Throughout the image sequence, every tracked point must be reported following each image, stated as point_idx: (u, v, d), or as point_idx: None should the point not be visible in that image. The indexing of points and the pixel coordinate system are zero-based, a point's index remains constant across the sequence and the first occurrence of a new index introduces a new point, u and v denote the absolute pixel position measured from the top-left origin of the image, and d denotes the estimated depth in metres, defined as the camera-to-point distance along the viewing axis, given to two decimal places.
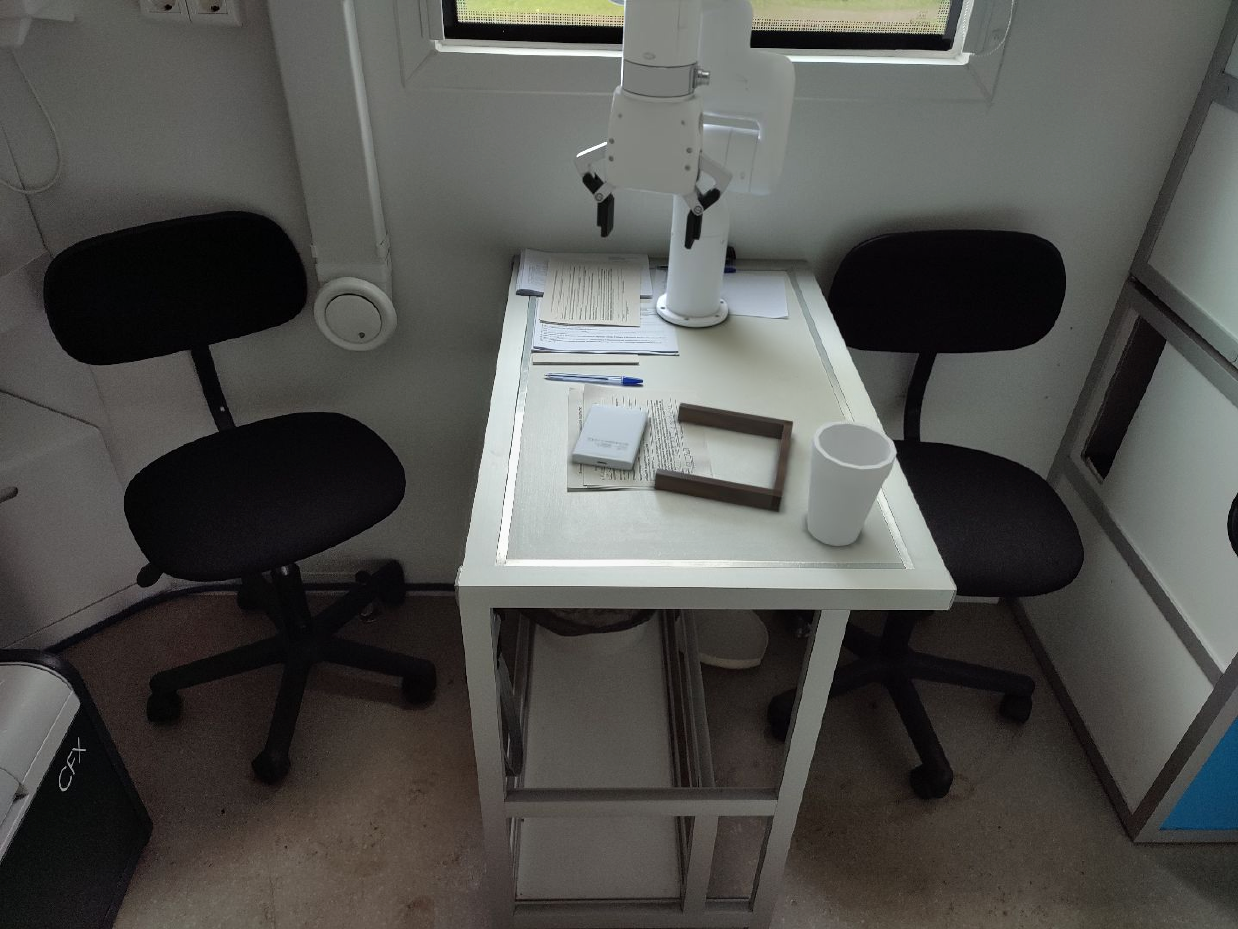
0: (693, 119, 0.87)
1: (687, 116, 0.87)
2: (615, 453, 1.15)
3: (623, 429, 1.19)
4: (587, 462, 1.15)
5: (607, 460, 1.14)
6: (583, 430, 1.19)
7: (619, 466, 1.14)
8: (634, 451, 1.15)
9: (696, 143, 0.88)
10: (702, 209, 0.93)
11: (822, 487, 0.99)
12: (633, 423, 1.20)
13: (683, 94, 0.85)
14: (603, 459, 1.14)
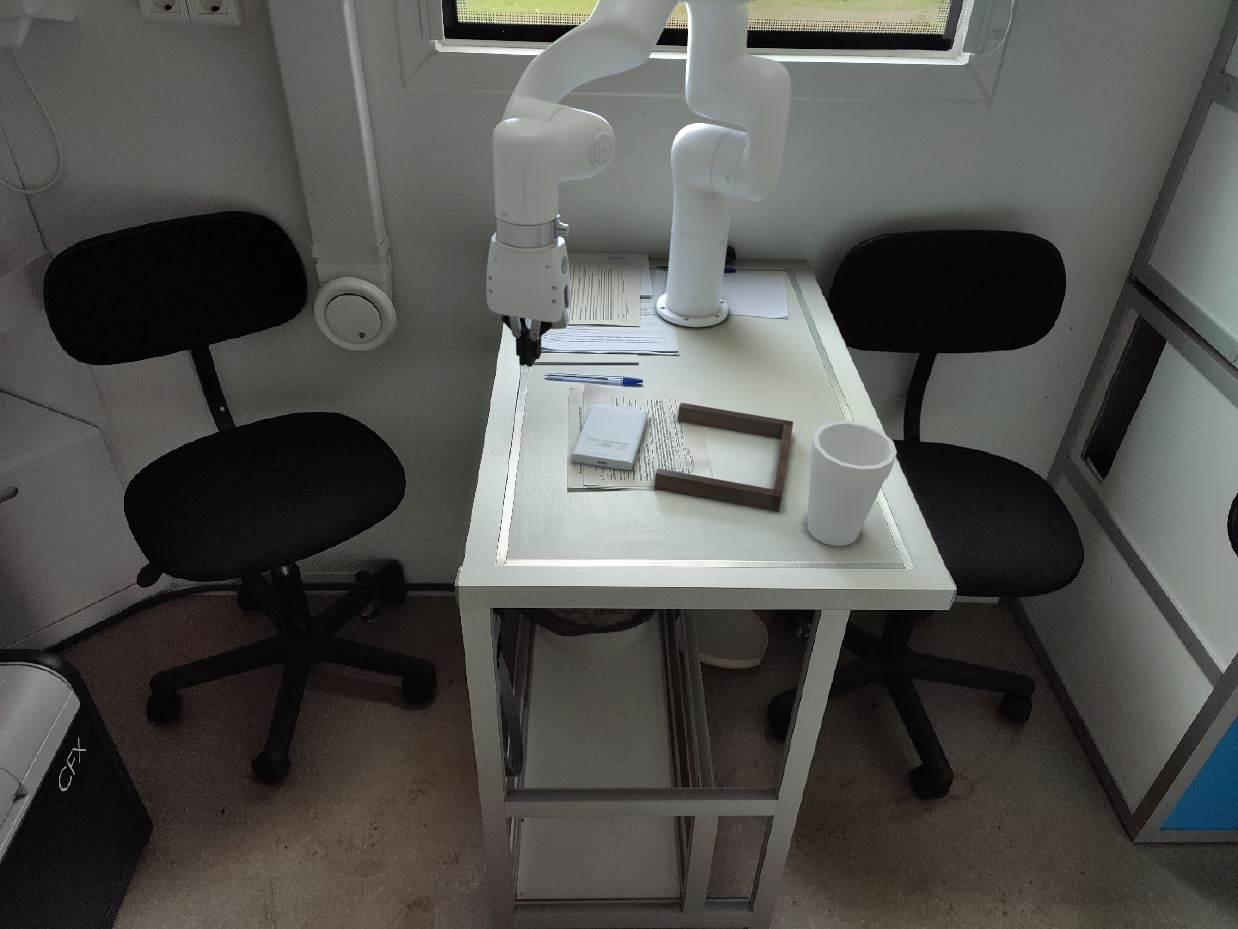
0: (555, 264, 1.03)
1: (550, 261, 1.03)
2: (615, 453, 1.15)
3: (623, 428, 1.19)
4: (587, 462, 1.15)
5: (607, 460, 1.14)
6: (583, 430, 1.19)
7: (619, 466, 1.14)
8: (634, 451, 1.15)
9: (560, 282, 1.05)
10: (537, 336, 1.10)
11: (822, 487, 0.99)
12: (633, 423, 1.20)
13: (545, 244, 1.02)
14: (603, 459, 1.14)
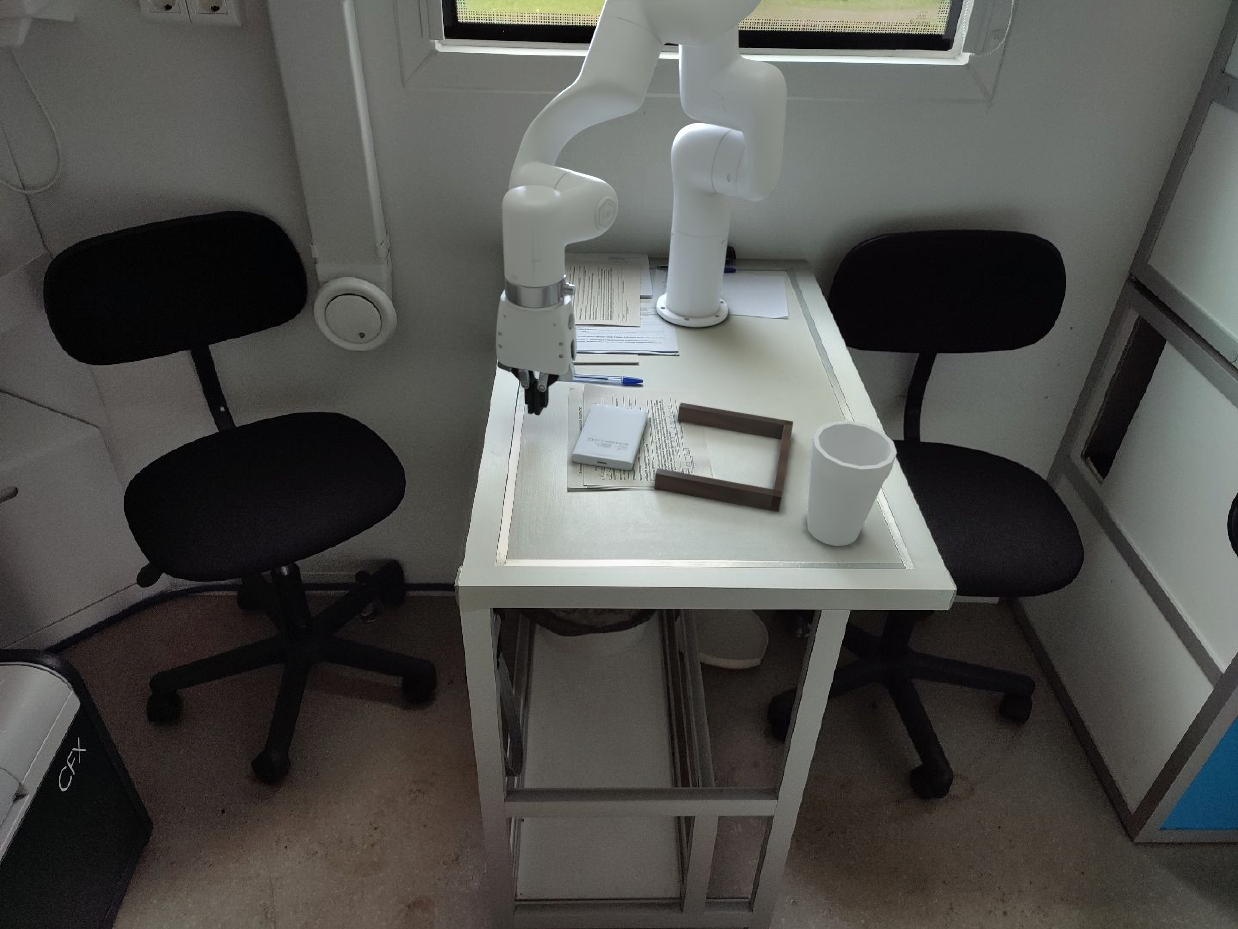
0: (562, 321, 1.08)
1: (557, 319, 1.08)
2: (615, 453, 1.15)
3: (623, 428, 1.19)
4: (587, 462, 1.15)
5: (607, 460, 1.14)
6: (583, 430, 1.19)
7: (619, 466, 1.14)
8: (634, 451, 1.15)
9: (566, 338, 1.09)
10: (545, 387, 1.15)
11: (822, 487, 0.99)
12: (633, 423, 1.20)
13: (552, 304, 1.06)
14: (603, 459, 1.14)
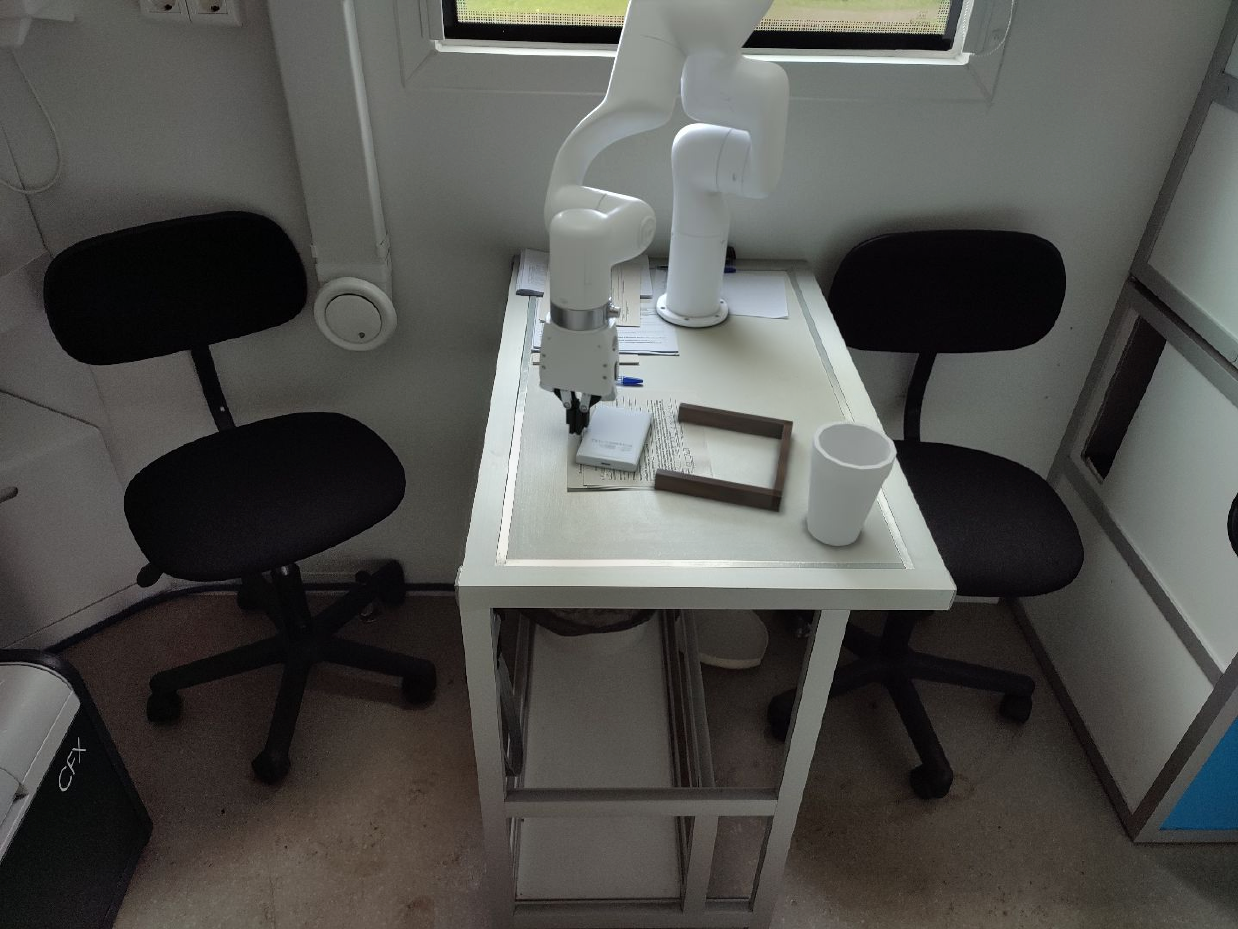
0: (607, 344, 1.08)
1: (602, 342, 1.08)
2: (619, 454, 1.14)
3: (627, 430, 1.19)
4: (591, 463, 1.14)
5: (610, 461, 1.14)
6: (587, 431, 1.18)
7: (623, 467, 1.14)
8: (638, 452, 1.15)
9: (611, 360, 1.10)
10: (587, 408, 1.15)
11: (822, 487, 0.99)
12: (637, 425, 1.20)
13: (598, 327, 1.07)
14: (607, 460, 1.14)
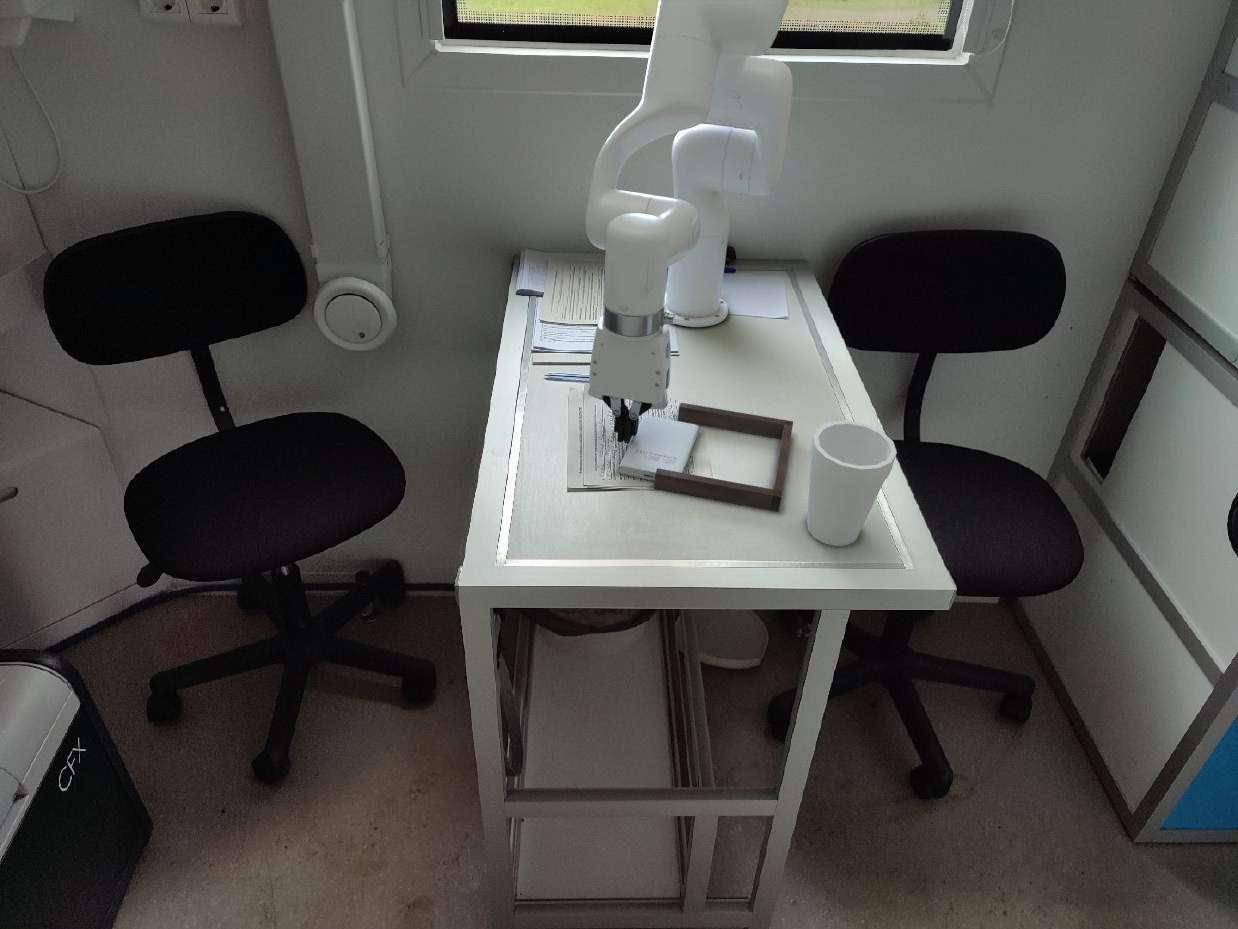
0: (661, 350, 1.06)
1: (656, 348, 1.06)
2: (663, 467, 1.13)
3: (673, 442, 1.17)
4: (634, 475, 1.13)
5: (654, 474, 1.12)
6: (632, 442, 1.17)
7: None
8: (682, 466, 1.13)
9: (664, 367, 1.08)
10: (637, 415, 1.14)
11: (822, 487, 0.99)
12: (683, 437, 1.18)
13: (652, 333, 1.05)
14: (650, 472, 1.12)
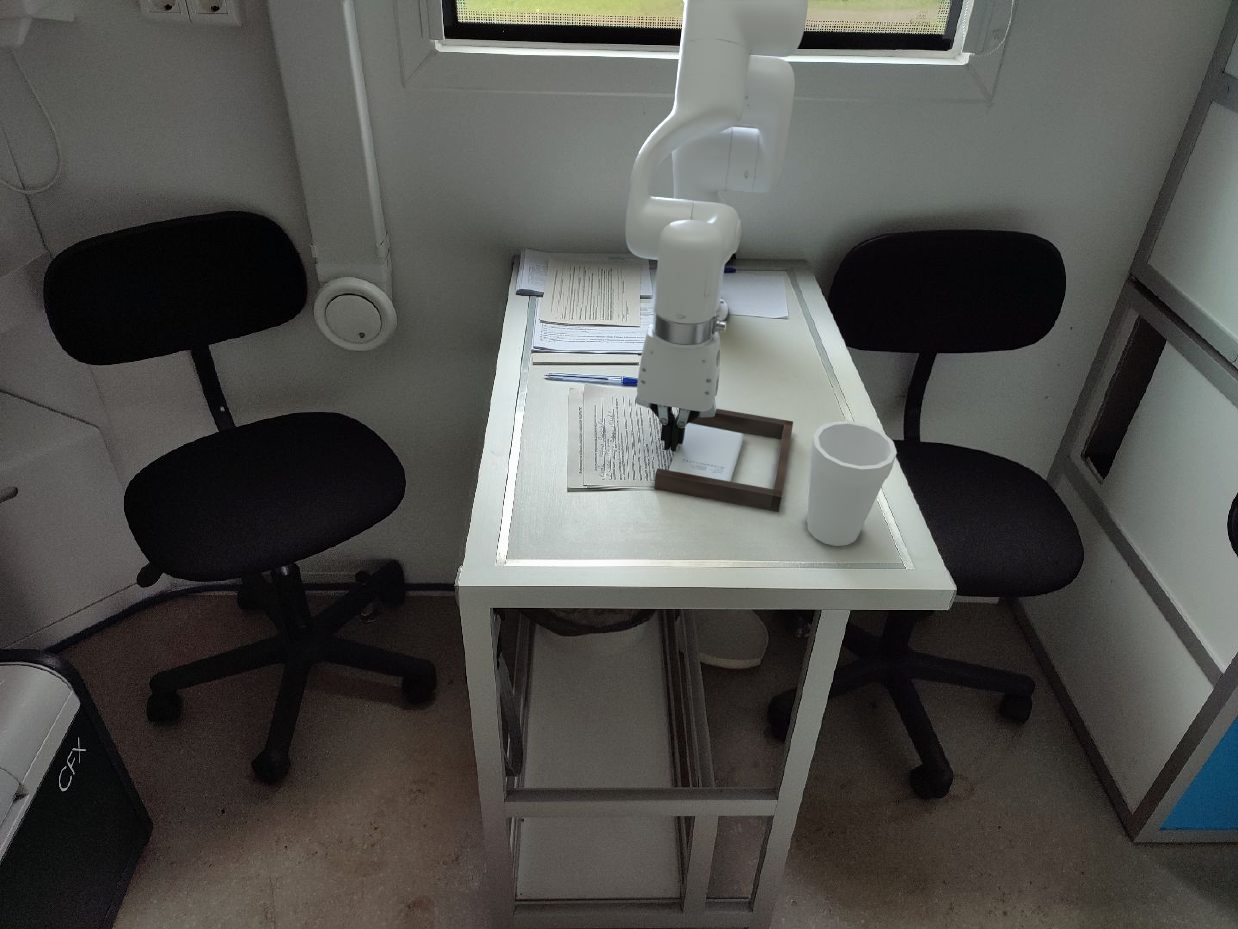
0: (712, 358, 1.05)
1: (707, 356, 1.05)
2: (710, 476, 1.11)
3: (719, 451, 1.16)
4: None
5: None
6: (677, 450, 1.16)
7: None
8: (730, 475, 1.12)
9: (714, 375, 1.07)
10: (684, 424, 1.12)
11: (822, 487, 0.99)
12: (728, 446, 1.17)
13: (704, 341, 1.04)
14: None
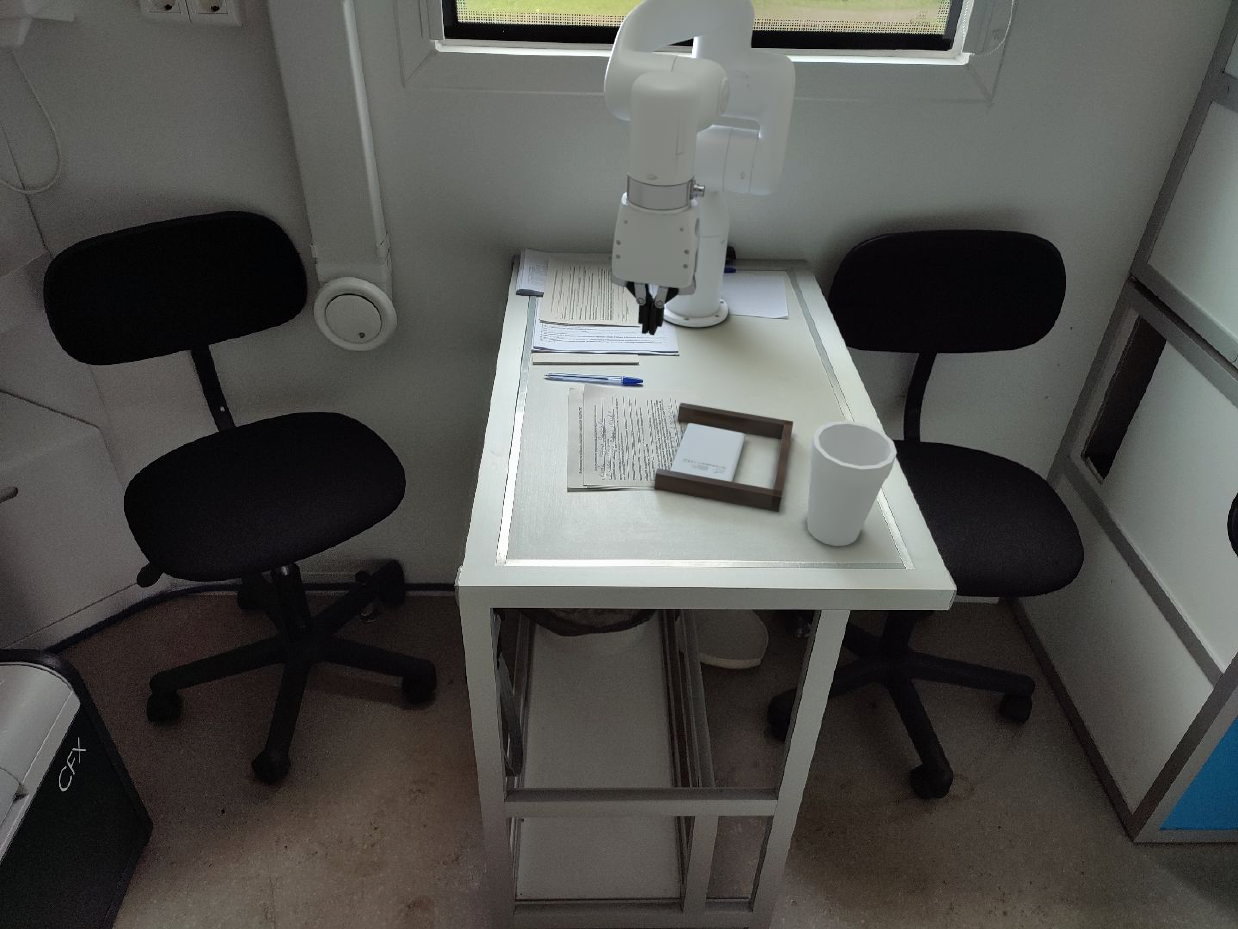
0: (690, 226, 0.99)
1: (685, 224, 0.98)
2: (712, 476, 1.11)
3: (720, 451, 1.16)
4: None
5: None
6: (679, 451, 1.16)
7: None
8: (732, 475, 1.12)
9: (693, 245, 1.00)
10: (663, 303, 1.06)
11: (822, 487, 0.99)
12: (730, 446, 1.17)
13: (681, 206, 0.97)
14: None
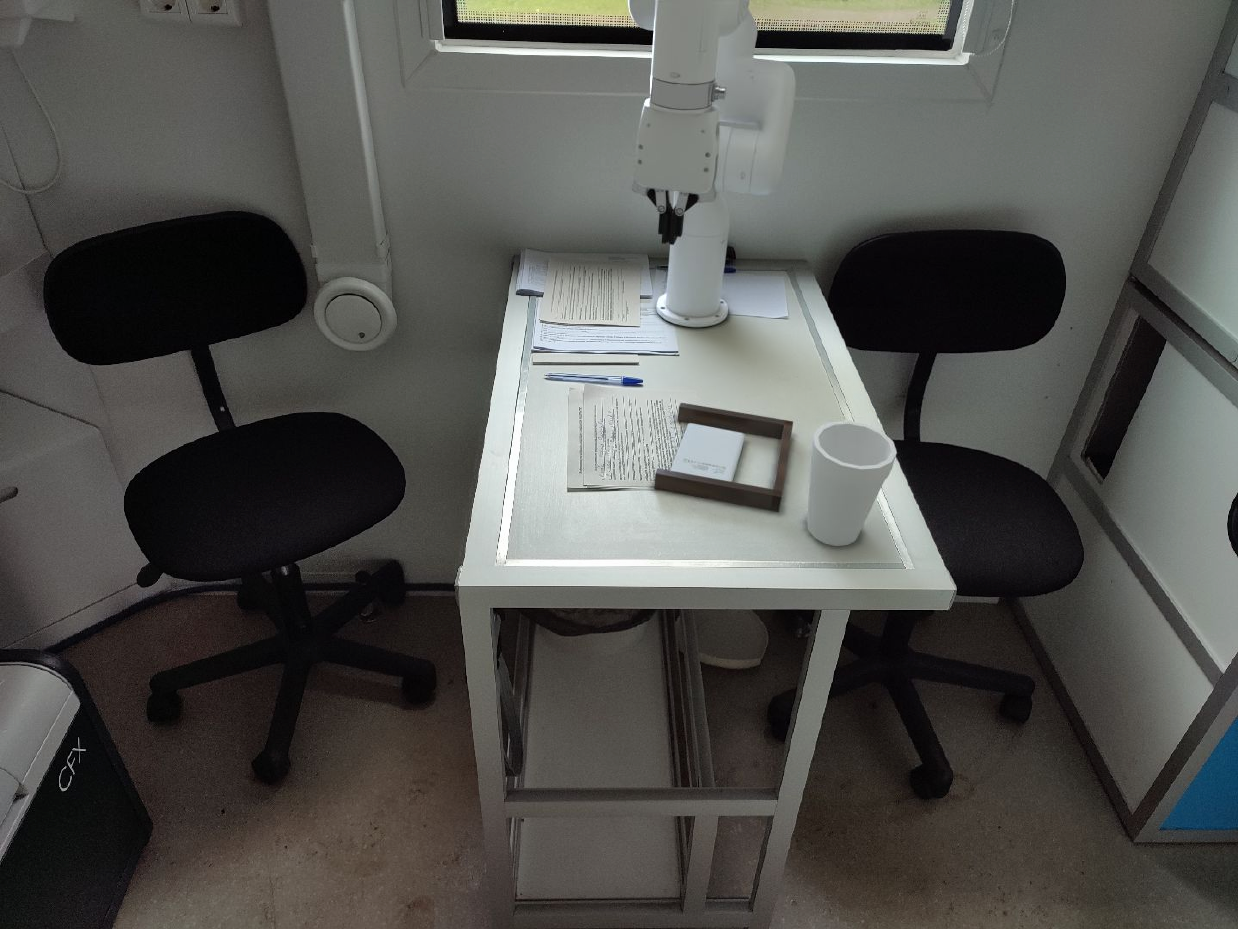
0: (711, 128, 1.01)
1: (706, 125, 1.01)
2: (712, 476, 1.11)
3: (720, 451, 1.16)
4: None
5: None
6: (679, 451, 1.16)
7: None
8: (732, 475, 1.12)
9: (713, 148, 1.03)
10: (683, 210, 1.09)
11: (822, 487, 0.99)
12: (730, 446, 1.17)
13: (703, 107, 1.00)
14: None
